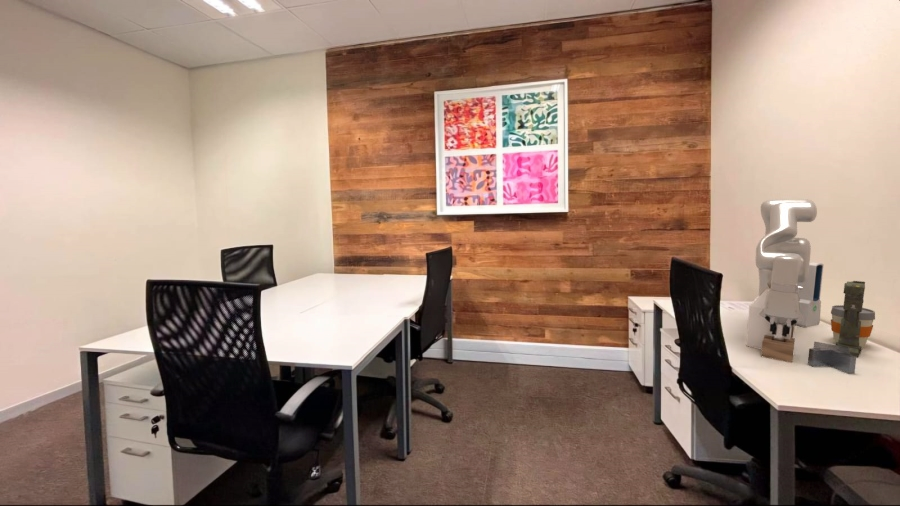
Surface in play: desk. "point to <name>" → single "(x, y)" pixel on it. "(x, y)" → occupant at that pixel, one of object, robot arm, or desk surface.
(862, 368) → the desk surface
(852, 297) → the mechanical leg
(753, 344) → the gable box
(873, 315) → the reusable coffee cup
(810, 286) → the electronic device
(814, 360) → the v block
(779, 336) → the axle
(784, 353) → the beam
